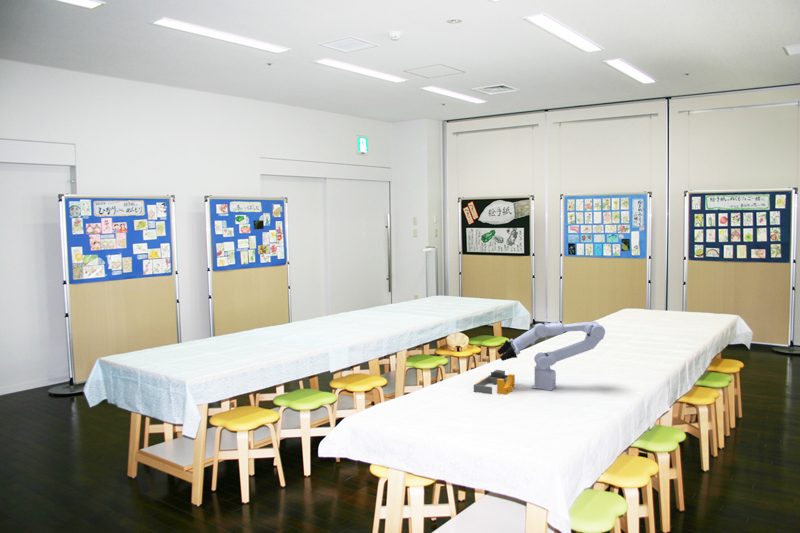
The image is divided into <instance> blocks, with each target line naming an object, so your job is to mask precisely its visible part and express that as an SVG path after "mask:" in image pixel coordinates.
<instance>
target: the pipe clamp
mask: <svg viewBox="0 0 800 533" xmlns="http://www.w3.org/2000/svg"><path fill="white" fill-rule="evenodd" d="M507 375H508V377H507V381H506V383H504V379H497V384H496V393H497V394H500V395H507V394H510V393H512V392H513V389H515V386H516V385H515V377H516V376H515V374H512V373H508V374H507Z"/></svg>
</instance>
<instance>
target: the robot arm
mask: <svg viewBox="0 0 800 533" xmlns="http://www.w3.org/2000/svg"><path fill="white" fill-rule="evenodd" d="M565 332H584V333H586V334H585V338H584V340H581V341H579V342H576V343H572V344H570V345H567V346H564V347H561V348H559V349H558V348H557V349H556V350H553V351H546V352H538V353H536V354H535V356H534V359H533V360H534V362H535V366H534V384H533V385H532V386H531V389H539V390H544V391H553V390H554V389H555V388H556V387H557V385H556V384H557V382H556V381H557V379H556V376H557V373H556V370H554V369H552V368H551V367H552V366H553V365H555V364H556V363H558V362H559V361H563V360H565V359H568V358H571V357H574V356H576V355H580V354H582V353H586V352H589V351H590V350H593V349H595V348H596V347H597V345H598V344H599V343H600V342H601V341H602V340H604V337H605V334H606V330H605V327H604V326H603V325H601V324H599V322H596V321H581V322H574V323H573V322H572V323H567V324H564V323H562V322H559V321H558V320H557V321H554V322H549V323H547V322H544V323H536V324H534V326H533V328H531V329H529V330H526V332H524V333H522V334H521V335H520V336H518V337H516V338H514V339H513V338H510V339H509V340H508V339H506V340H505V342H504V343H503V344H502V345H501V346H500V348H498V349H497V351H496V352H497V353H498V355H499V358H500V359H501V361H502V362H504V361H506V360H510V359H515V358H516V359H517V358H518V355H519V354H521V350H523V349H525V348H527V347H528V346H530V345H531V344H533V343H535V342H536V341H537V340H538V339H540V338H545V337H547V336H548V337H549V336H560V335H561V336H562V335H563V334H564V333H565Z"/></svg>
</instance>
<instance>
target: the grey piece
mask: <svg viewBox="0 0 800 533" xmlns="http://www.w3.org/2000/svg"><path fill="white" fill-rule="evenodd" d="M507 377H508V374H506V370H501V369H495V370H494V371H491V372H490V375H488V376H485V377H484V378H482V379H480V380H479V381H477V382H475V383H474V384H473V392H475V393H483V394H488V395H489V394H490V395H492V394H493V387H492V386H487V385H488V384H489V385H490V384H491V385H497V379H504V383H506V381H507Z"/></svg>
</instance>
